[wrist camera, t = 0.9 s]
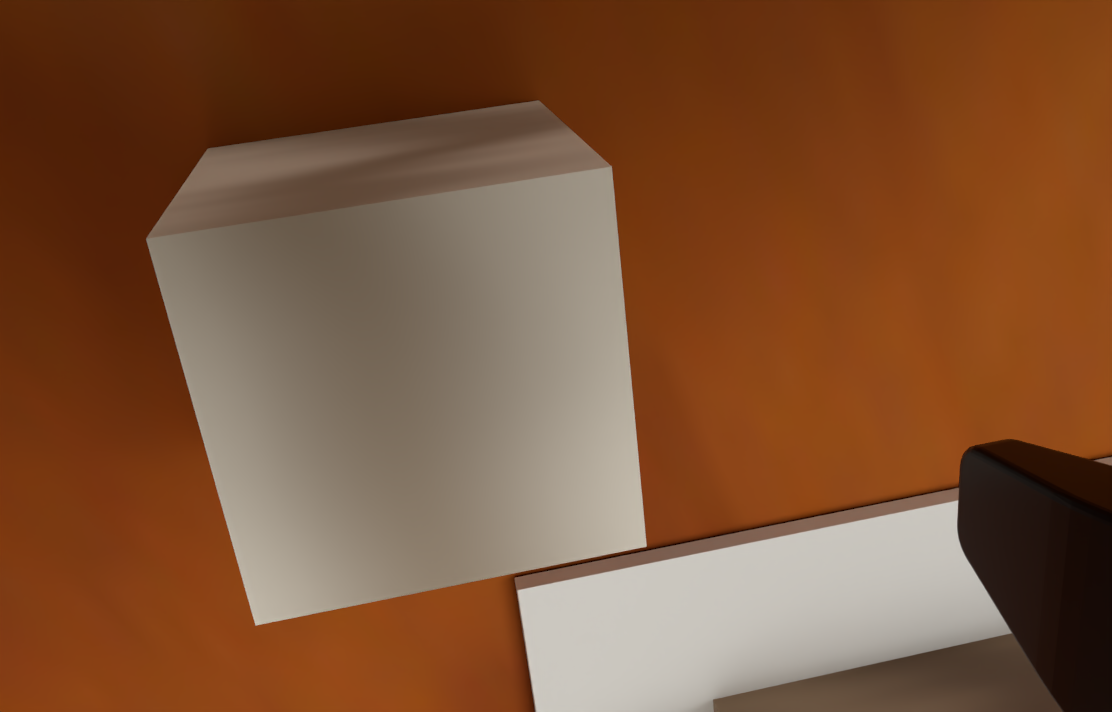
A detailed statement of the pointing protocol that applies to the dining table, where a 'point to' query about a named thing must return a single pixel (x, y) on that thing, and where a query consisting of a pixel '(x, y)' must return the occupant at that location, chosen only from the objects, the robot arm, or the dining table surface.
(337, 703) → the dining table surface
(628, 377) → the cream block
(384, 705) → the dining table surface
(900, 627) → the board
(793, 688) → the walnut block
